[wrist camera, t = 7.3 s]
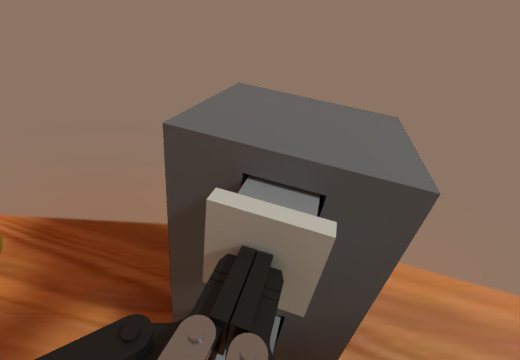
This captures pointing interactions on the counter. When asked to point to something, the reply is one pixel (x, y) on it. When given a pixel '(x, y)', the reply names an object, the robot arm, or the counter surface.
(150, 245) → the counter surface
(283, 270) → the upper plunger
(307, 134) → the grey dispenser box
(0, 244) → the lemon
